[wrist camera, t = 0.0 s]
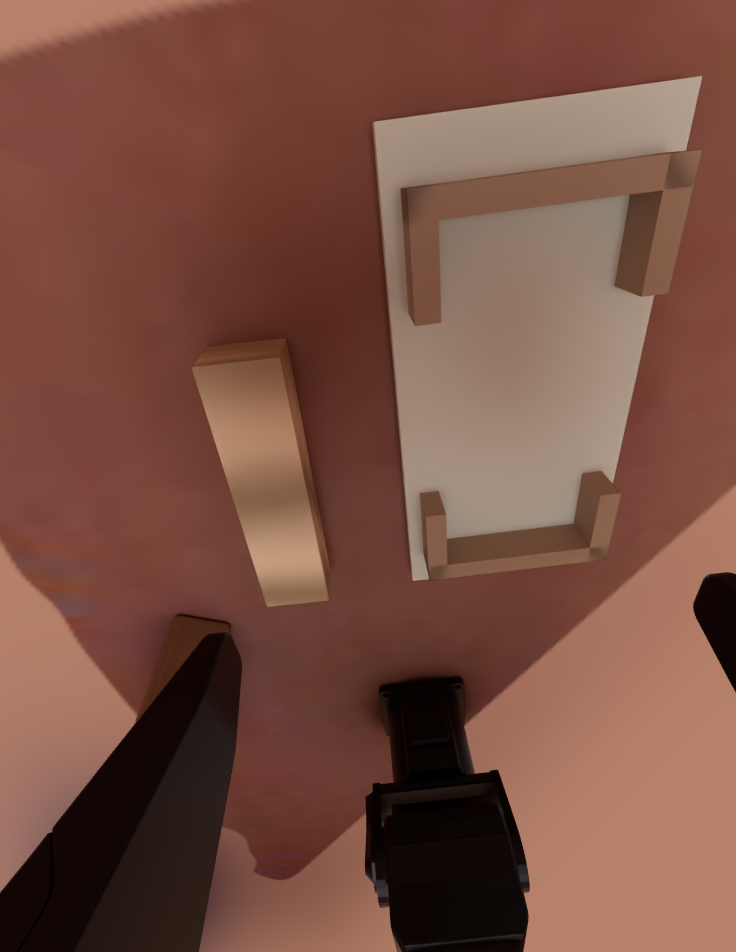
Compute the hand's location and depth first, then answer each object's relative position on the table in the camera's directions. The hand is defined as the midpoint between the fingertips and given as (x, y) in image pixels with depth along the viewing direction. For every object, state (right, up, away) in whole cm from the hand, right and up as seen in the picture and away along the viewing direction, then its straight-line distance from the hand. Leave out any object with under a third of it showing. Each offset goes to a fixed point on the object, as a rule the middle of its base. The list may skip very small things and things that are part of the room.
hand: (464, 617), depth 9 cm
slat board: (+5, +7, +13) cm, 16 cm away
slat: (-7, +3, +16) cm, 17 cm away
